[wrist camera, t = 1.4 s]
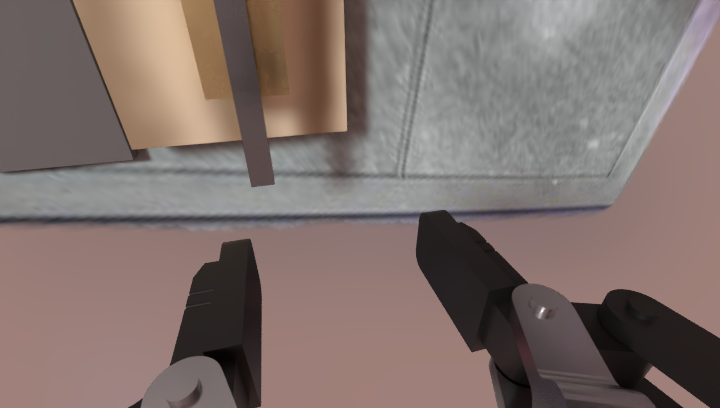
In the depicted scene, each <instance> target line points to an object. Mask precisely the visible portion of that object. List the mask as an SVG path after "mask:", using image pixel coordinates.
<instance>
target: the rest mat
mask: <svg viewBox="0 0 720 408" xmlns="http://www.w3.org/2000/svg"><path fill="white" fill-rule="evenodd" d="M136 157H137V152H136V149H134V150H132V149H131V146H130V143H129V141H128V138H127V136H126V133H125V131H124V128H123V126H122V123H121V121H120V118H119V116H118V113H117V111H116V108H115V106H114V103H113V101H112V98H111V96H110V93H109V91H108V88H107V85H106V83H105V80H104V78H103V75H102V73H101V70H100V68H99V65H98V63H97V60H96V58H95V55H94V53H93V50H92V48H91V45H90V43H89V40H88V38H87V35H86V32H85V30H84V27H83V25H82V22H81V20H80V17H79V15H78V12H77V10H76V7H75V5H74V2H73V0H0V172H8V171H19V170H30V169H40V168H51V167H62V166H73V165H83V164H94V163H105V162H115V161H126V160H134V159H135V158H136Z"/></svg>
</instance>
